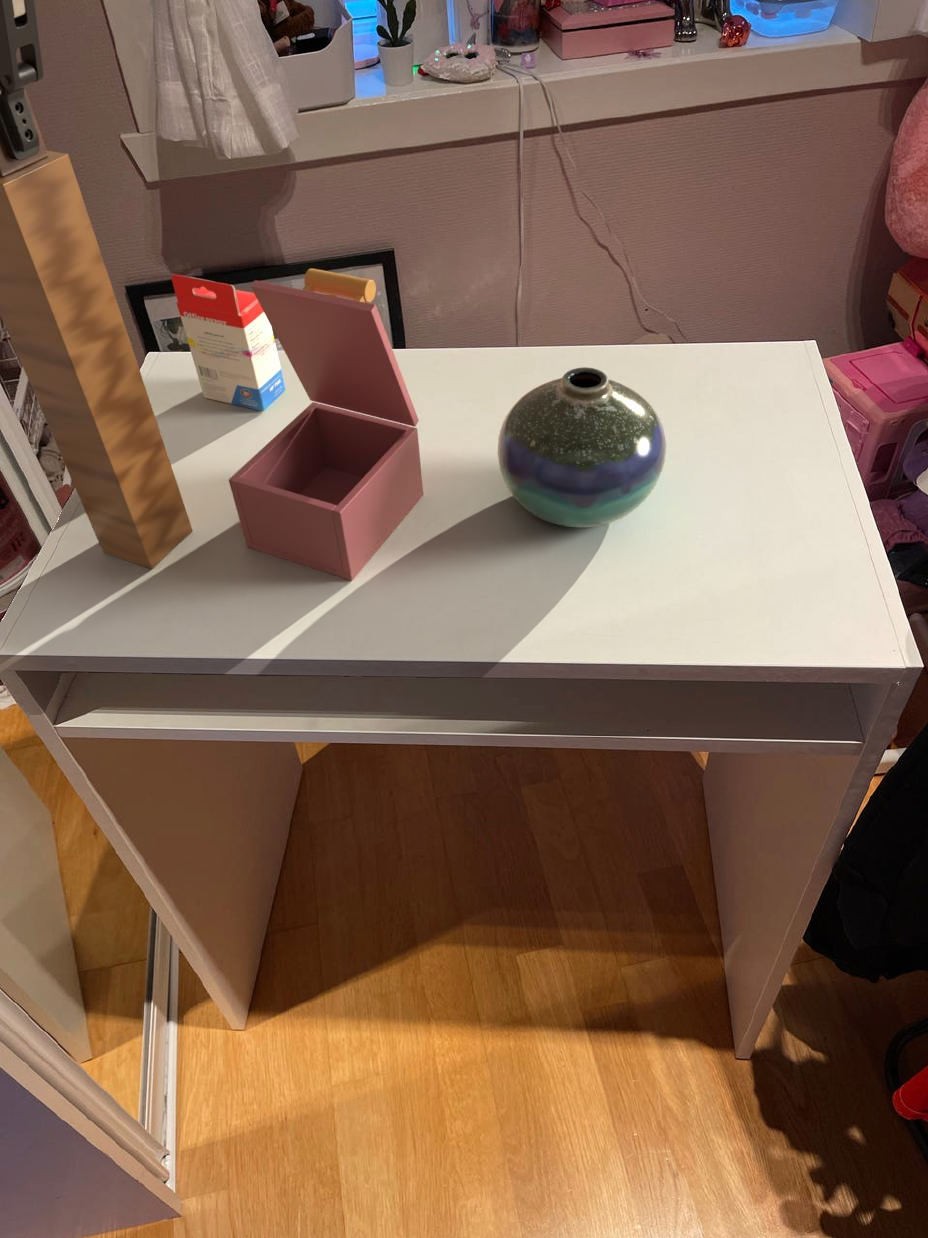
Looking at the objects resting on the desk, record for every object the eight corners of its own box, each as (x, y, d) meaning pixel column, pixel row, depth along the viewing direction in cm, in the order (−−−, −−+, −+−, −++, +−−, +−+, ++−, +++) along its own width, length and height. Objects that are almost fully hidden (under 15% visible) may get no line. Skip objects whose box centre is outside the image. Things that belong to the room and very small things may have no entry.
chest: (352, 581, 81) (340, 512, 75) (246, 546, 85) (228, 479, 79) (423, 495, 89) (417, 427, 84) (324, 467, 93) (312, 401, 88)
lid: (371, 311, 71) (397, 267, 72) (250, 286, 74) (277, 245, 76) (415, 427, 83) (437, 387, 85) (310, 400, 87) (332, 362, 89)
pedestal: (152, 569, 83) (2, 184, 59) (102, 552, 85) (-62, 172, 61) (193, 530, 87) (68, 153, 63) (144, 515, 89) (5, 143, 65)
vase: (467, 516, 87) (461, 394, 77) (550, 437, 95) (554, 319, 86) (609, 575, 80) (622, 449, 71) (685, 484, 89) (705, 362, 79)
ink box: (287, 391, 104) (261, 266, 93) (263, 413, 101) (234, 287, 90) (226, 377, 107) (195, 254, 96) (201, 398, 104) (166, 274, 93)
